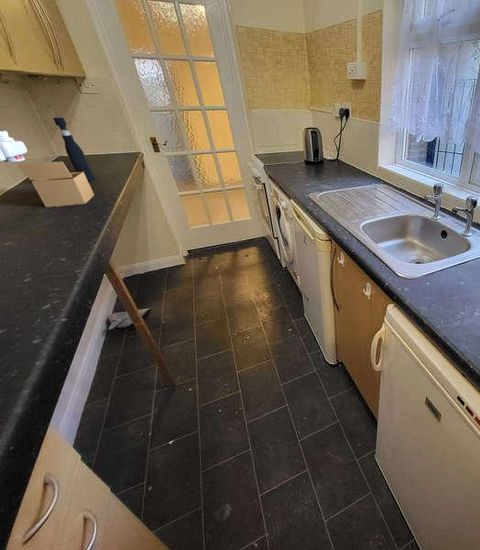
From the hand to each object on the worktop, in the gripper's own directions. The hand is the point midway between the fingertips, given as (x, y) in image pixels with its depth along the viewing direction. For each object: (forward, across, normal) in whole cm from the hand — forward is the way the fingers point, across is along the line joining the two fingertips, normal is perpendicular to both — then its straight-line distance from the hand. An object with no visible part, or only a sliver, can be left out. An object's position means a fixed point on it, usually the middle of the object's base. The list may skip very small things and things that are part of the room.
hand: (8, 144), depth 105 cm
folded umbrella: (+50, -18, -25) cm, 59 cm away
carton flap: (+7, +2, -11) cm, 13 cm away
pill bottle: (-1, 0, -6) cm, 6 cm away
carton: (+14, -1, -25) cm, 29 cm away
